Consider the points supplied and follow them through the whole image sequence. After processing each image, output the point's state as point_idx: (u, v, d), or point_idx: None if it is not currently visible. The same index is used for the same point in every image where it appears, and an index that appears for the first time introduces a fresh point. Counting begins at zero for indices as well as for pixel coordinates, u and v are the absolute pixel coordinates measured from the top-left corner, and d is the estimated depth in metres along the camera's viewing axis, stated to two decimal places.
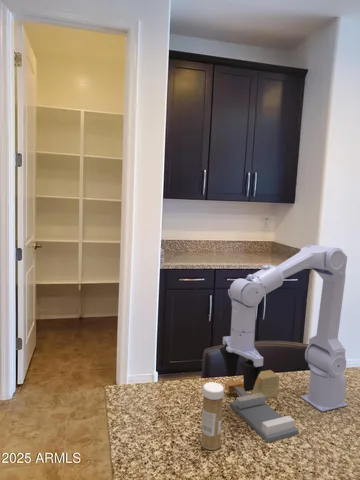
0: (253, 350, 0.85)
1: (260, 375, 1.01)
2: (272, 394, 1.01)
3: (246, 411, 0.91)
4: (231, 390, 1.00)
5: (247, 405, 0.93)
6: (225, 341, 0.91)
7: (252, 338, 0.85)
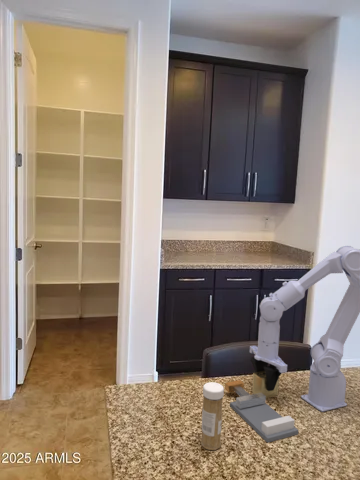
0: (277, 358, 1.00)
1: (260, 375, 1.01)
2: (272, 394, 1.01)
3: (246, 411, 0.91)
4: (231, 390, 1.00)
5: (247, 405, 0.93)
6: (252, 350, 1.06)
7: (277, 348, 0.99)
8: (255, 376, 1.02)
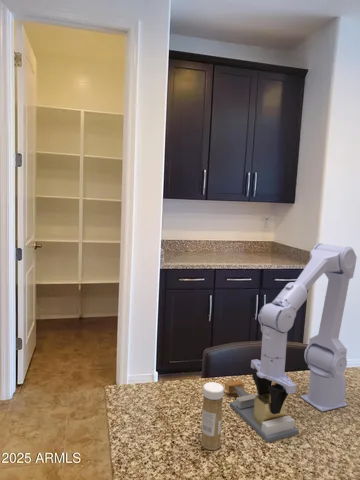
0: (284, 376, 0.85)
1: (263, 399, 0.86)
2: None
3: (246, 411, 0.91)
4: (231, 390, 1.00)
5: (247, 405, 0.93)
6: (254, 365, 0.91)
7: (283, 364, 0.84)
8: (257, 400, 0.87)
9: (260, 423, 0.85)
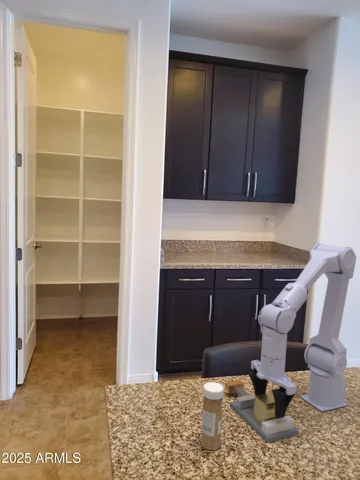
0: (284, 377, 0.85)
1: (263, 399, 0.86)
2: None
3: (246, 411, 0.91)
4: (231, 390, 1.00)
5: (247, 405, 0.93)
6: (254, 366, 0.91)
7: (283, 365, 0.84)
8: (257, 400, 0.87)
9: (260, 423, 0.85)
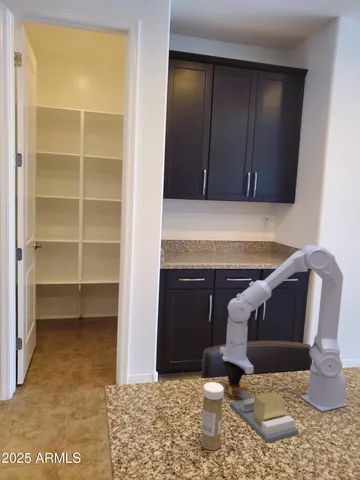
0: (245, 359, 0.99)
1: (263, 399, 0.86)
2: None
3: None
4: (234, 393, 0.98)
5: (251, 408, 0.91)
6: (221, 351, 1.06)
7: (244, 349, 0.99)
8: (257, 400, 0.87)
9: (260, 423, 0.85)
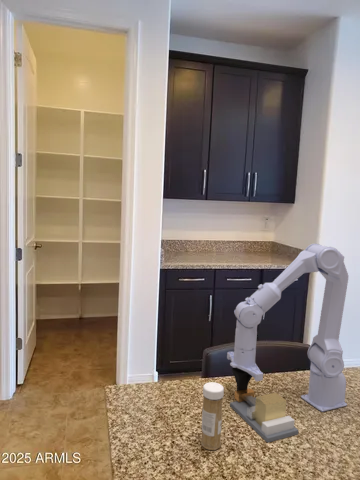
0: (254, 366, 0.95)
1: (264, 400, 0.86)
2: None
3: (246, 411, 0.91)
4: (241, 399, 0.95)
5: None
6: (229, 356, 1.02)
7: (253, 355, 0.95)
8: (258, 401, 0.86)
9: (261, 424, 0.85)
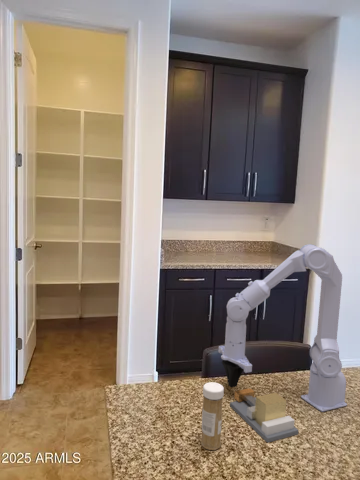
0: (244, 358, 1.00)
1: (264, 400, 0.86)
2: None
3: (246, 411, 0.91)
4: (241, 399, 0.95)
5: None
6: (220, 350, 1.06)
7: (243, 348, 0.99)
8: (258, 401, 0.86)
9: (261, 424, 0.85)
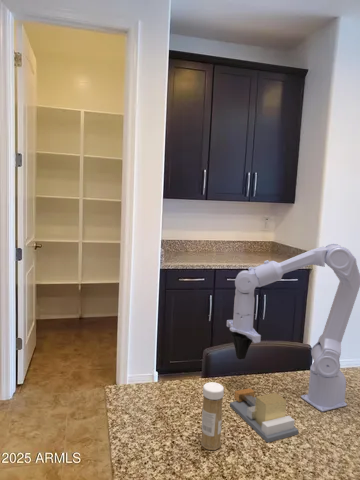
0: (252, 330, 1.01)
1: (264, 400, 0.86)
2: None
3: (246, 411, 0.91)
4: (241, 399, 0.95)
5: None
6: (228, 323, 1.08)
7: (251, 320, 1.01)
8: (258, 401, 0.86)
9: (261, 424, 0.85)
